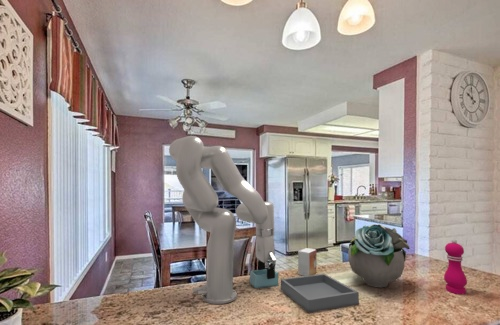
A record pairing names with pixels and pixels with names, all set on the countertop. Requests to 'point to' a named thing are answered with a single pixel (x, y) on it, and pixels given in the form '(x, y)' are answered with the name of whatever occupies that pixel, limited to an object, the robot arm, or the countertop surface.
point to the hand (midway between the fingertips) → (266, 274)
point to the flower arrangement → (377, 255)
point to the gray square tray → (319, 292)
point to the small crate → (262, 279)
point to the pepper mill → (455, 269)
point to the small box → (307, 262)
